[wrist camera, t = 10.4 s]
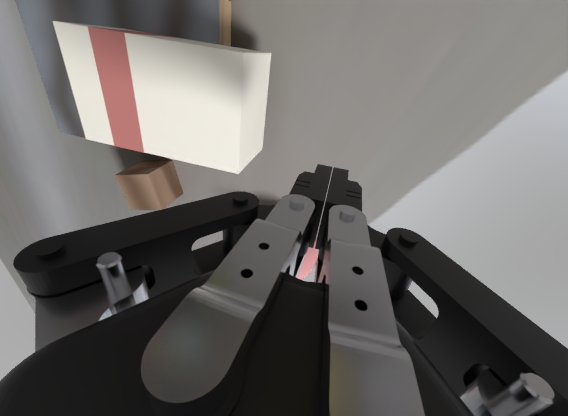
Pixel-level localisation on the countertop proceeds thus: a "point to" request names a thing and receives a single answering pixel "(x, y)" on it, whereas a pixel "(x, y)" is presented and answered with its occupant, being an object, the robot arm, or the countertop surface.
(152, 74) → the carton
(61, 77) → the podium
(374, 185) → the countertop surface
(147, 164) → the walnut block
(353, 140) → the countertop surface
